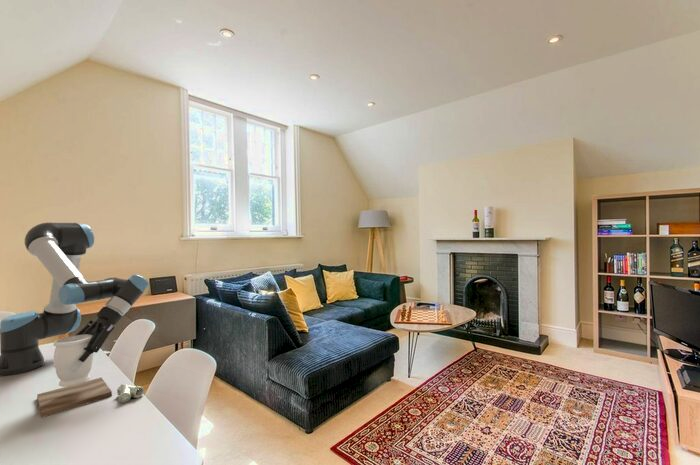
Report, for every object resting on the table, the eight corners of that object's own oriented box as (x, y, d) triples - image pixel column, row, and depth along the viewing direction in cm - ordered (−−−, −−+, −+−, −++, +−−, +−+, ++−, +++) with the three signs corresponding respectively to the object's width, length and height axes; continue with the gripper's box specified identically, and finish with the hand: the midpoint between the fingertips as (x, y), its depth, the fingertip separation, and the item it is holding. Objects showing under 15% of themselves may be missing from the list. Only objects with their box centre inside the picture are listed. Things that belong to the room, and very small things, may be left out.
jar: (61, 391, 108) (60, 345, 108) (49, 384, 114) (48, 340, 114) (99, 378, 117) (98, 336, 117) (86, 373, 123) (85, 332, 123)
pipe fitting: (125, 406, 109) (144, 395, 116) (124, 394, 109) (143, 384, 116) (108, 403, 112) (126, 392, 118) (107, 392, 112) (125, 381, 118)
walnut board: (37, 398, 115) (37, 394, 115) (101, 381, 128) (101, 377, 128) (41, 417, 103) (41, 412, 103) (111, 395, 116) (111, 391, 116)
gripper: (137, 319, 124) (89, 378, 110) (106, 314, 134) (58, 367, 121) (122, 307, 119) (69, 368, 105) (90, 303, 130) (39, 357, 116)
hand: (63, 367), depth 113 cm, fingers closed on jar, 10 cm apart
